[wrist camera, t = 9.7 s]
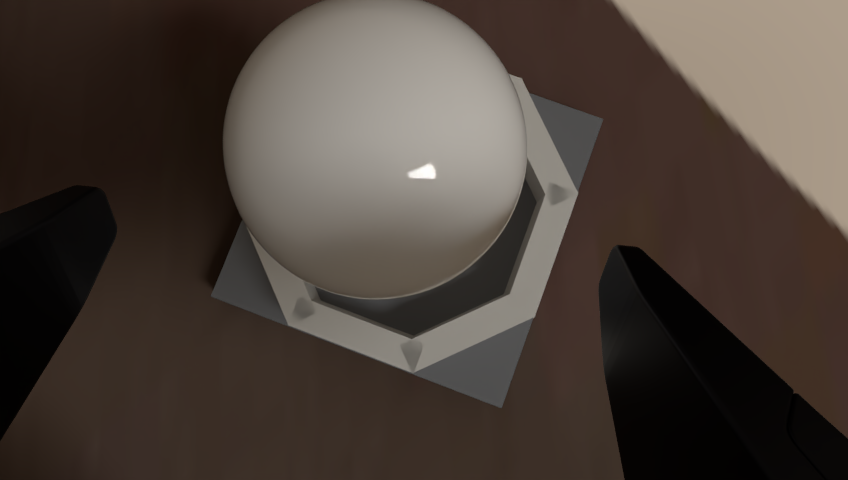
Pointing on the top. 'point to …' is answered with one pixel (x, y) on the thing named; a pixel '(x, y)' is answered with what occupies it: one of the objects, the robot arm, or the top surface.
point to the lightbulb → (374, 146)
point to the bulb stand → (455, 300)
